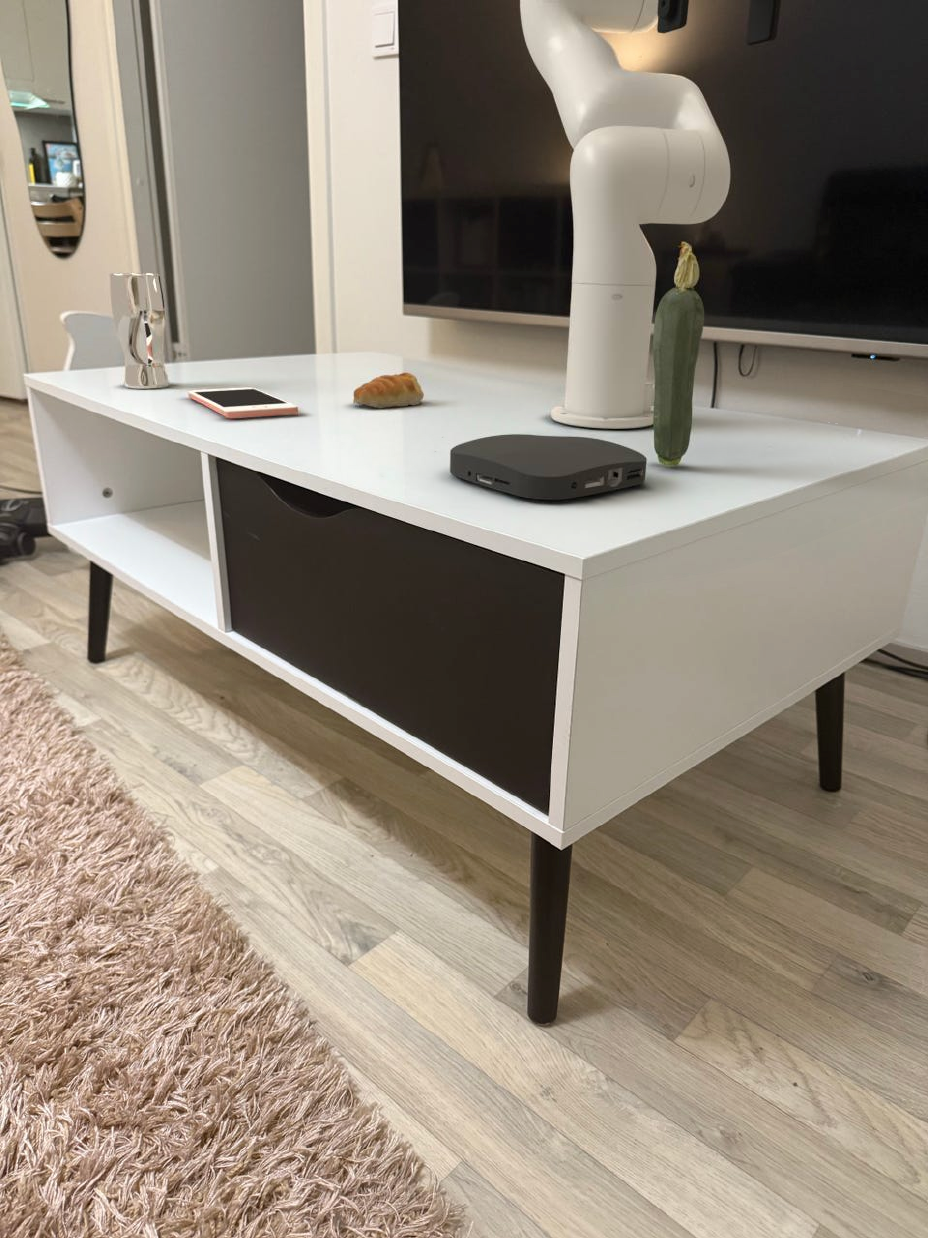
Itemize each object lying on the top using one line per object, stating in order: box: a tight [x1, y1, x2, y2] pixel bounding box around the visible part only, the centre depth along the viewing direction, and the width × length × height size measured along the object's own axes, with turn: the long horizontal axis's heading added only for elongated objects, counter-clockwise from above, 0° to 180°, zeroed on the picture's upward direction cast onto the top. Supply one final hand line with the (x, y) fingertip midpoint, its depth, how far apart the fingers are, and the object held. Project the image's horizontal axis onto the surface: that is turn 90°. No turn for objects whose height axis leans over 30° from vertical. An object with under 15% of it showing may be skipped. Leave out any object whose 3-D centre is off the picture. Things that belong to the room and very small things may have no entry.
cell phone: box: [187, 386, 299, 419], centre depth 114 cm, size 9×18×1 cm, turn 30°
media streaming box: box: [449, 433, 648, 501], centre depth 80 cm, size 15×15×3 cm
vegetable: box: [652, 241, 705, 468], centre depth 82 cm, size 4×4×20 cm
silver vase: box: [109, 272, 170, 390], centre depth 126 cm, size 7×7×15 cm
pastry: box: [352, 372, 425, 409], centre depth 117 cm, size 9×7×4 cm
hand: (716, 36), depth 78 cm, fingers open, 9 cm apart
